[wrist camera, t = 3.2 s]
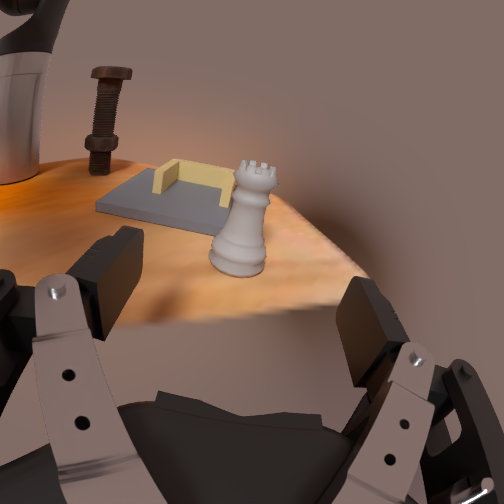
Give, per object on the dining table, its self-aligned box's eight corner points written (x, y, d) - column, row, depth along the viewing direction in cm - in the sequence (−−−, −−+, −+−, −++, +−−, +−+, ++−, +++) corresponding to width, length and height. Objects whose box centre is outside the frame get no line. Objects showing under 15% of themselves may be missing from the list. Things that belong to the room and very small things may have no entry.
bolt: (89, 167, 37) (102, 69, 30) (120, 169, 38) (135, 70, 32) (76, 177, 32) (89, 65, 25) (110, 180, 34) (126, 66, 27)
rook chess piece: (268, 282, 22) (299, 179, 18) (208, 277, 20) (230, 166, 17) (257, 252, 25) (281, 163, 22) (206, 246, 24) (224, 152, 20)
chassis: (95, 211, 25) (96, 176, 24) (147, 174, 38) (150, 151, 37) (222, 237, 26) (230, 201, 25) (235, 191, 40) (241, 167, 38)
